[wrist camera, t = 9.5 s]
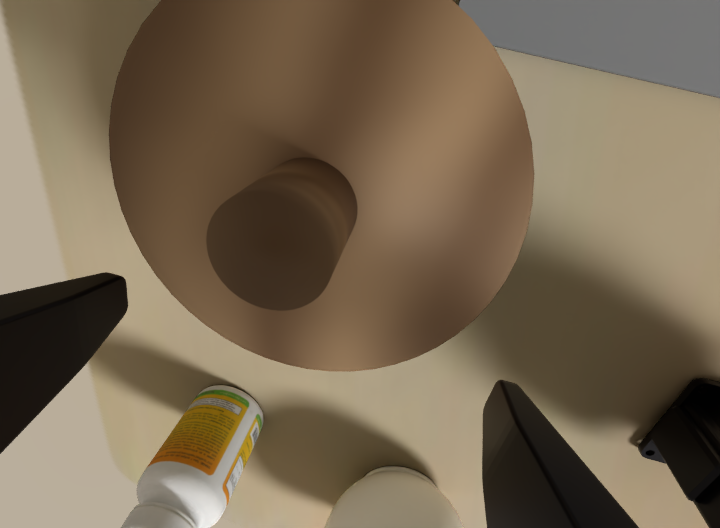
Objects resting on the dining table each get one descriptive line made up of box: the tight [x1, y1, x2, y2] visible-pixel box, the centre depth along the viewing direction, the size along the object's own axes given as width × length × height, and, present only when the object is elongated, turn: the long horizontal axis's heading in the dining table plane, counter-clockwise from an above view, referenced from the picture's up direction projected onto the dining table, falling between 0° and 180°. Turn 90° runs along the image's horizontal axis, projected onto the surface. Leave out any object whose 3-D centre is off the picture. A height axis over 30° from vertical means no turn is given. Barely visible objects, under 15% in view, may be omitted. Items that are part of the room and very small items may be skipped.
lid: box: [109, 0, 534, 371], centre depth 13 cm, size 15×15×5 cm
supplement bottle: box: [121, 385, 264, 528], centre depth 25 cm, size 5×5×10 cm
